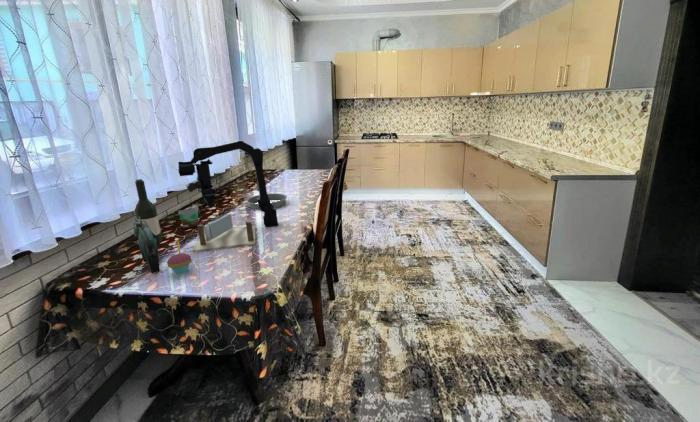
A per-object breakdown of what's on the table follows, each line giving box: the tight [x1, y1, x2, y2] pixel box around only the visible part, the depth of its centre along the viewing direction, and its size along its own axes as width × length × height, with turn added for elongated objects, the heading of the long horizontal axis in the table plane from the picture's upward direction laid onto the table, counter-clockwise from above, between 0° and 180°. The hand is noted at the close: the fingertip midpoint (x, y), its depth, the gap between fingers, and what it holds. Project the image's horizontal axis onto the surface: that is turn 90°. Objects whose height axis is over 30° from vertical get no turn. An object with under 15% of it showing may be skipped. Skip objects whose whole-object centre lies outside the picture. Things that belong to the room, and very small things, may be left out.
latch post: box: [245, 219, 254, 241], centre depth 160 cm, size 3×3×9 cm
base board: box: [192, 225, 257, 253], centre depth 166 cm, size 26×24×1 cm
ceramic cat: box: [132, 216, 161, 274], centre depth 139 cm, size 20×6×20 cm, turn 37°
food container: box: [177, 203, 200, 229], centre depth 187 cm, size 12×6×10 cm, turn 168°
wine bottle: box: [134, 178, 163, 245], centre depth 162 cm, size 8×8×30 cm
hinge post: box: [196, 223, 206, 245], centre depth 157 cm, size 2×2×9 cm
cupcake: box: [166, 240, 192, 275], centre depth 133 cm, size 9×8×12 cm
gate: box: [203, 213, 234, 241], centre depth 165 cm, size 18×2×7 cm, turn 164°
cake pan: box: [246, 193, 288, 211], centre depth 222 cm, size 25×25×4 cm
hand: (209, 205), depth 172 cm, fingers open, 9 cm apart
